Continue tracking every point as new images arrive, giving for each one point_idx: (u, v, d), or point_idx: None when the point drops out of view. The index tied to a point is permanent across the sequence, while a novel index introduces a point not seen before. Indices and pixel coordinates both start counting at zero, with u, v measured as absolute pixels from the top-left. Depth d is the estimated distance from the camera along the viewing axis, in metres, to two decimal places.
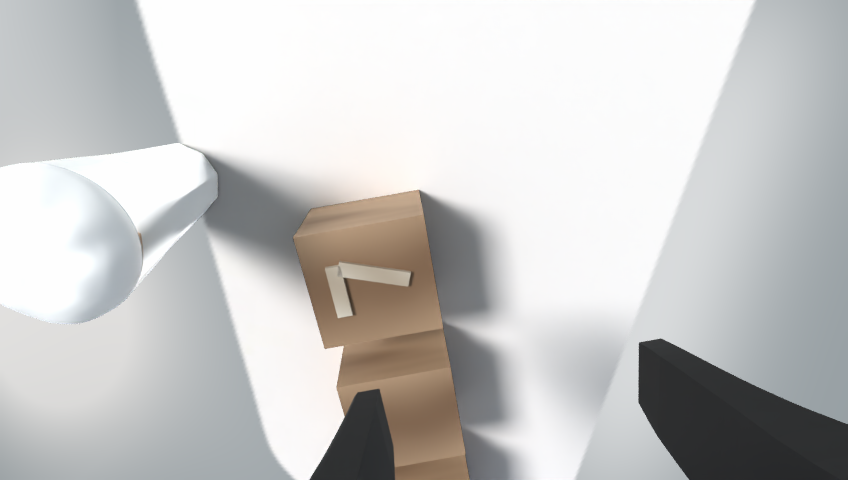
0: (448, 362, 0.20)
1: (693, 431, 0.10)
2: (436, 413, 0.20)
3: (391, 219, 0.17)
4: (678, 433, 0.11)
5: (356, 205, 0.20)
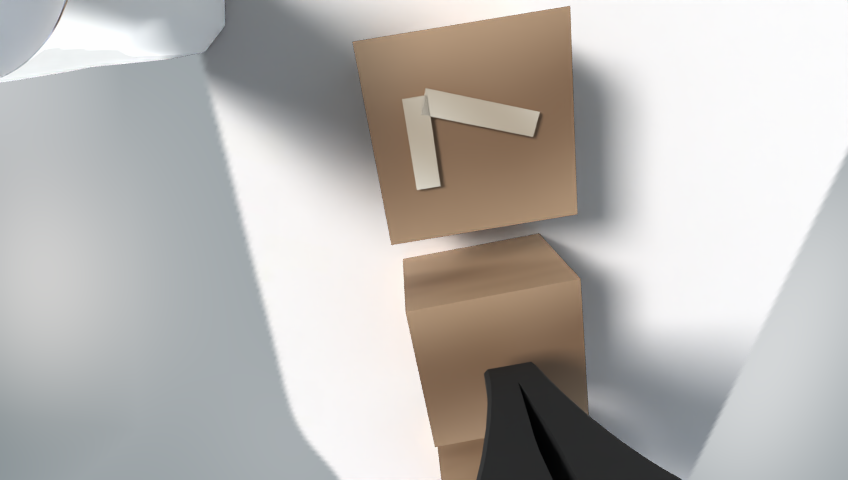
0: (574, 274, 0.13)
1: None
2: (552, 353, 0.13)
3: (515, 15, 0.10)
4: None
5: None
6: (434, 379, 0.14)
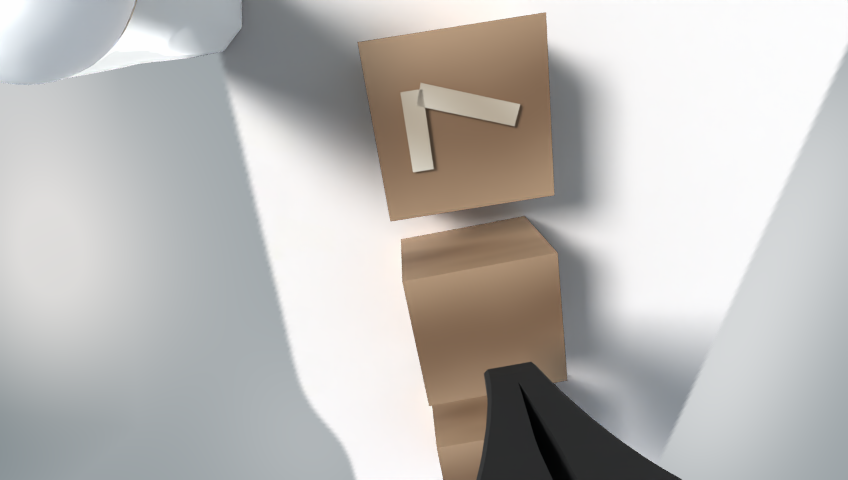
0: (552, 248, 0.15)
1: None
2: (533, 320, 0.15)
3: (498, 20, 0.12)
4: None
5: None
6: (427, 344, 0.15)
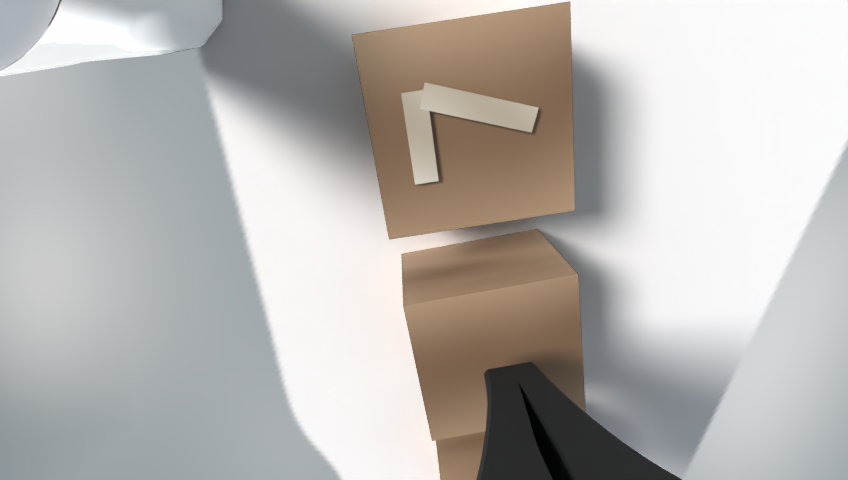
0: (571, 269, 0.13)
1: None
2: (549, 348, 0.14)
3: (515, 10, 0.10)
4: None
5: None
6: (431, 374, 0.14)
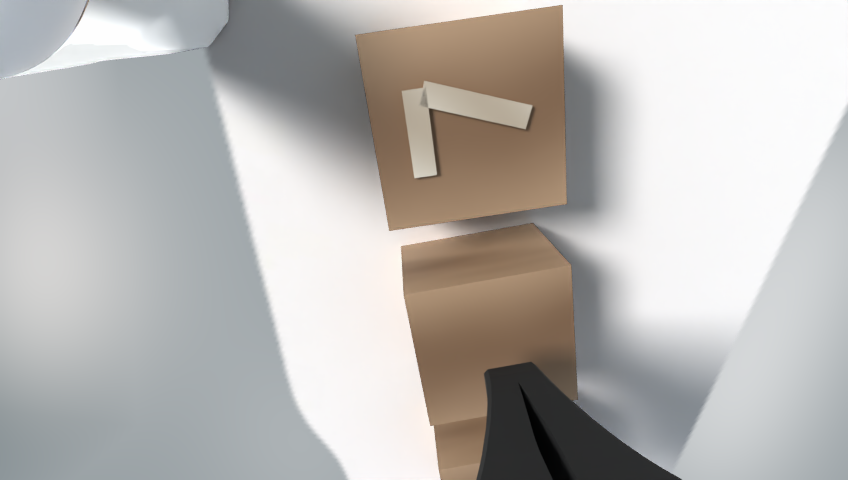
0: (565, 260, 0.14)
1: None
2: (543, 336, 0.14)
3: (510, 12, 0.11)
4: None
5: None
6: (430, 361, 0.14)
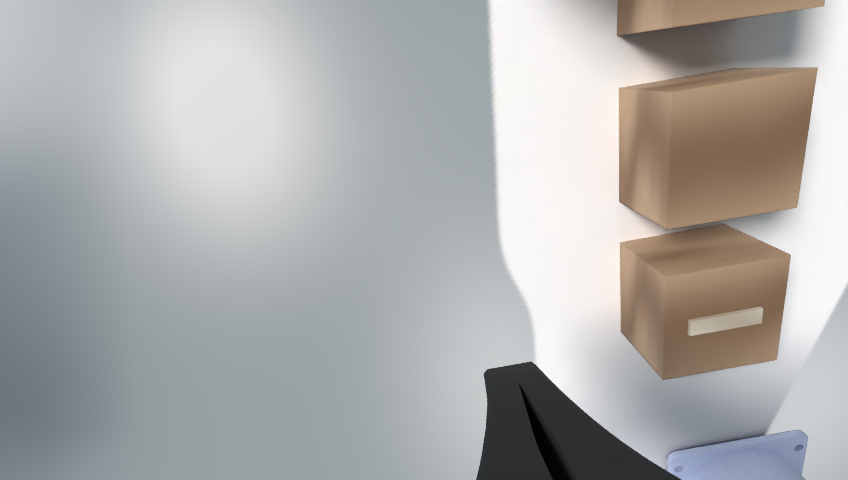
0: None
1: None
2: (780, 140, 0.16)
3: None
4: None
5: None
6: (680, 161, 0.16)
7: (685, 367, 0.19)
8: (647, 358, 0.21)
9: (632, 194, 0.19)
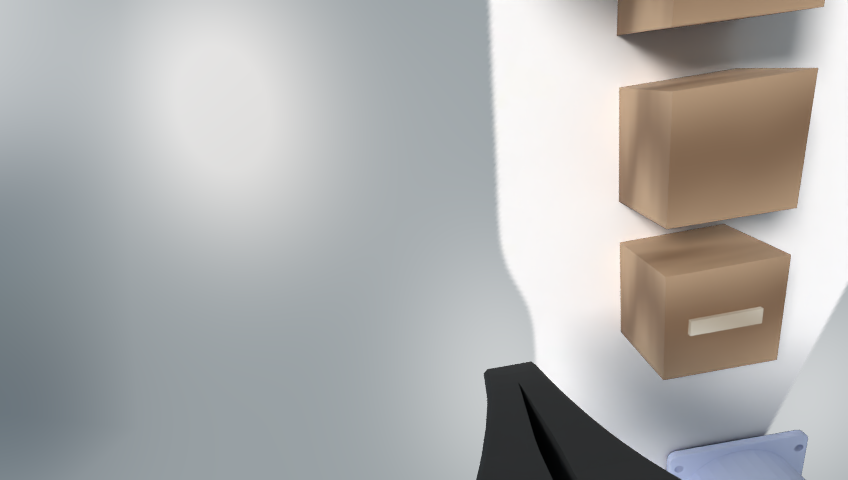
0: (807, 68, 0.16)
1: None
2: (780, 140, 0.16)
3: None
4: None
5: None
6: (680, 160, 0.16)
7: (685, 367, 0.19)
8: (648, 358, 0.21)
9: (632, 194, 0.19)
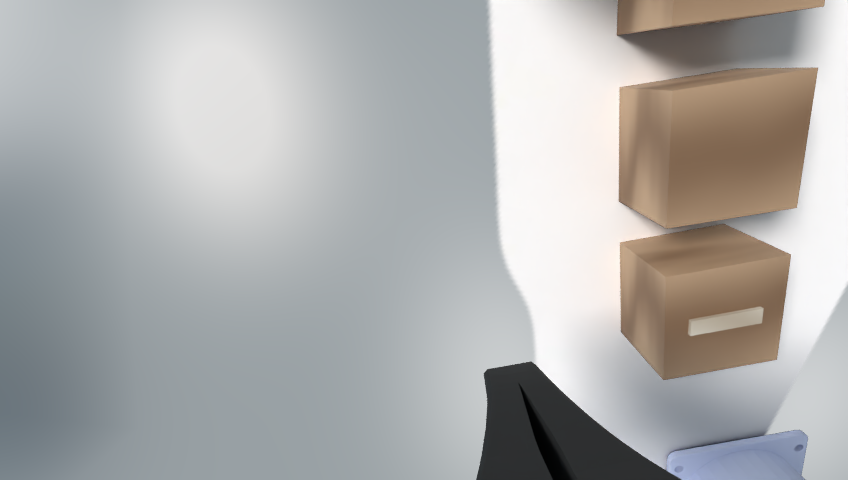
0: (807, 68, 0.16)
1: None
2: (780, 140, 0.16)
3: None
4: None
5: None
6: (680, 160, 0.16)
7: (685, 367, 0.19)
8: (648, 358, 0.21)
9: (632, 193, 0.19)
